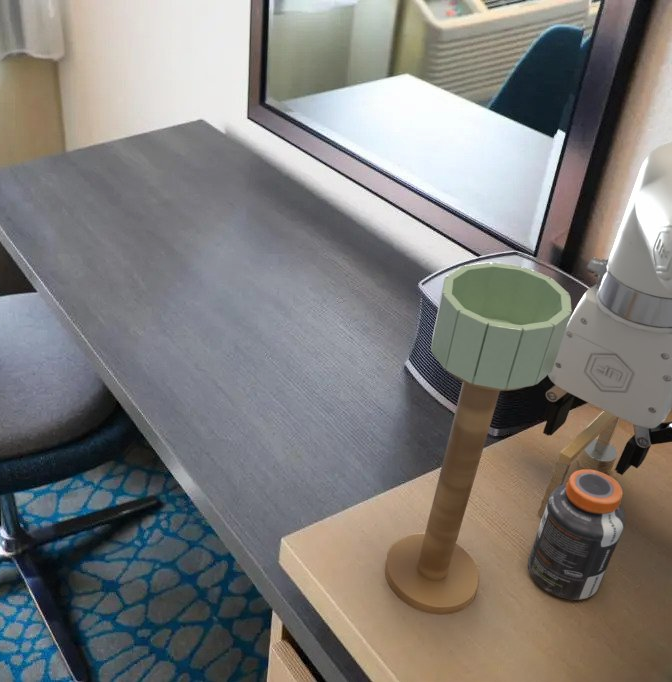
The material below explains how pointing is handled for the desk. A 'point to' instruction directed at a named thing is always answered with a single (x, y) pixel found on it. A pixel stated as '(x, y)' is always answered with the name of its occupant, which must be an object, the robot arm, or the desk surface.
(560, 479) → the wood-topped metal bracket
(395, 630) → the desk surface
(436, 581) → the stand
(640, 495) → the desk surface
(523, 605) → the desk surface
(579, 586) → the pill bottle
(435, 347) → the bowl
